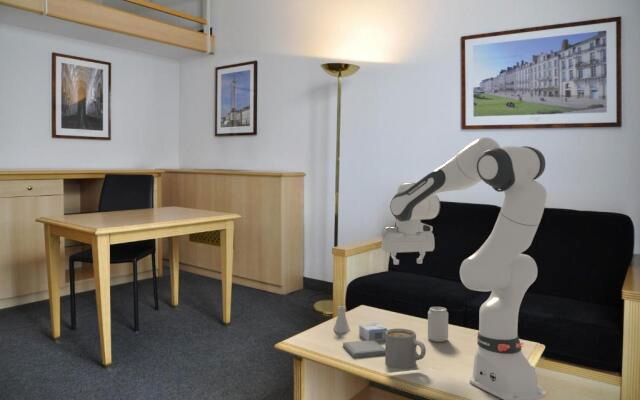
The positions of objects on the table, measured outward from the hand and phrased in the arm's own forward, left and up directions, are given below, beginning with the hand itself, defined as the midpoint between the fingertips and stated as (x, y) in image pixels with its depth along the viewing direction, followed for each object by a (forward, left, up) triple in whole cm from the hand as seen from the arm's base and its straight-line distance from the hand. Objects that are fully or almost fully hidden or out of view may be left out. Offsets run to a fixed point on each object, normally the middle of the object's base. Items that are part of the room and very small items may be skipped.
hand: (407, 264), depth 187 cm
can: (-1, -12, -29) cm, 32 cm away
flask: (+18, +20, -29) cm, 40 cm away
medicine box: (+3, +10, -27) cm, 29 cm away
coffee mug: (-21, +11, -29) cm, 38 cm away
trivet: (-5, +19, -29) cm, 35 cm away
